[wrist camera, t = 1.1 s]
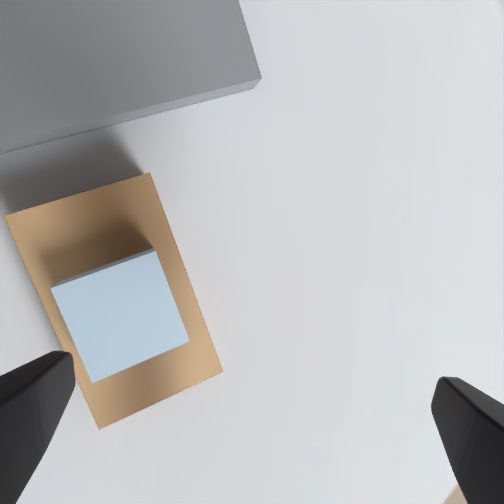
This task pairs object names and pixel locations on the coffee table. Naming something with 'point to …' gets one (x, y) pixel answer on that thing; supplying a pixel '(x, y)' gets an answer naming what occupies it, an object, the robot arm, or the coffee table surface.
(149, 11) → the slate dock
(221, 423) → the coffee table surface
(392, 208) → the coffee table surface
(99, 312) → the pale blue square block
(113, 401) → the board
